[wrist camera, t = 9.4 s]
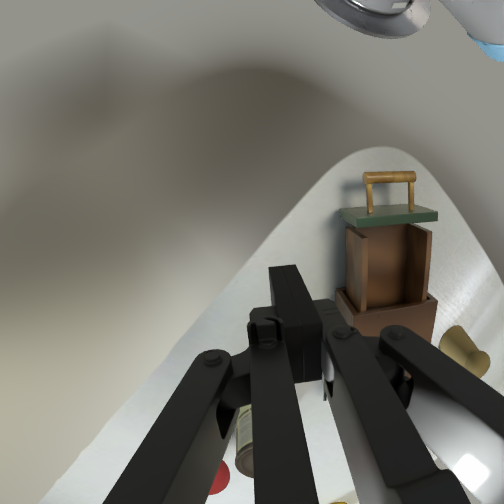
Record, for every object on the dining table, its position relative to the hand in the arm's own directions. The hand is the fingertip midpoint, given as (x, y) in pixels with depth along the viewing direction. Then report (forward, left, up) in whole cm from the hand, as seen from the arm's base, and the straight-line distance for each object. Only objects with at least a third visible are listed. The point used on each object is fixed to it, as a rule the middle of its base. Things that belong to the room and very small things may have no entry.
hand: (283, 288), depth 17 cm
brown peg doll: (+26, +34, -25) cm, 49 cm away
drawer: (+5, +16, -24) cm, 29 cm away
